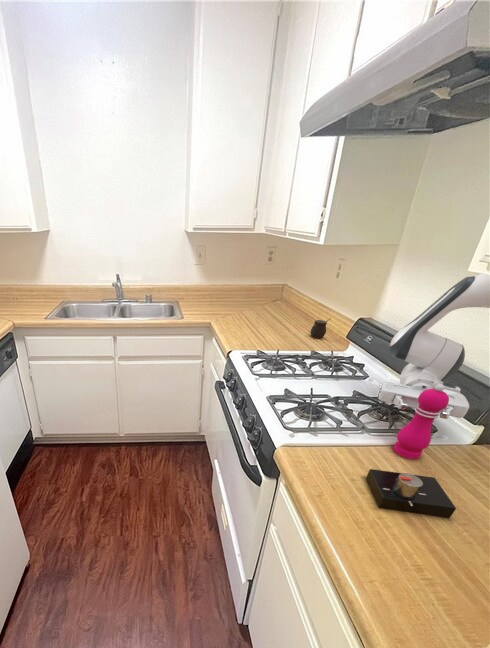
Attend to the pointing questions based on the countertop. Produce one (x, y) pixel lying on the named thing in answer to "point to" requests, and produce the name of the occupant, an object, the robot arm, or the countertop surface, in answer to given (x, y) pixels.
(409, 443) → the pepper mill
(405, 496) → the hob knob
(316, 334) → the mate gourd
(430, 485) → the black knob panel
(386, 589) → the countertop surface
